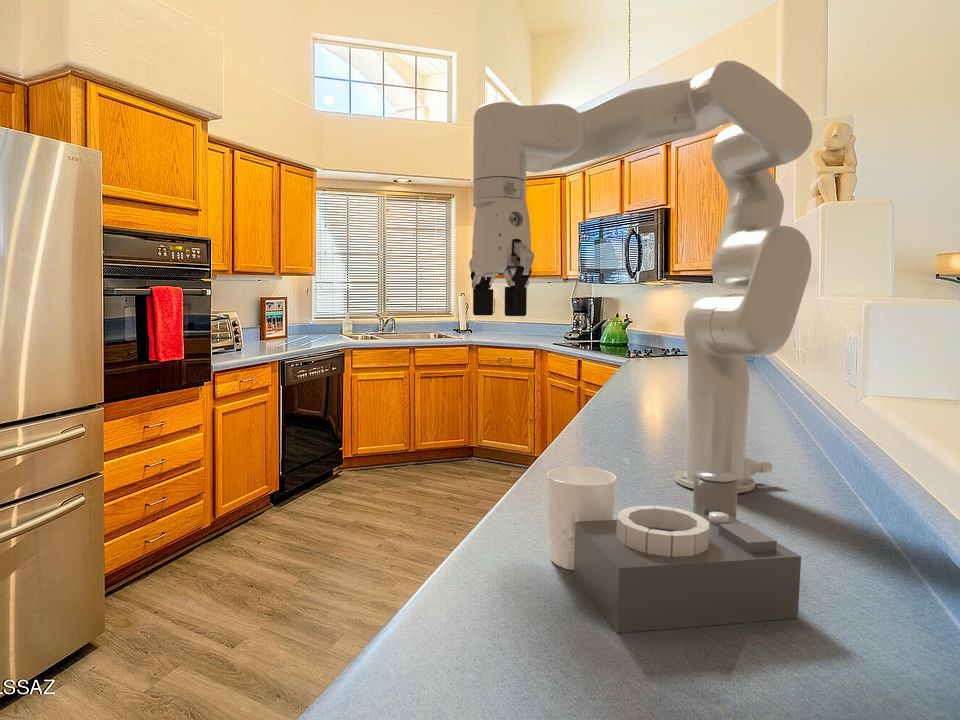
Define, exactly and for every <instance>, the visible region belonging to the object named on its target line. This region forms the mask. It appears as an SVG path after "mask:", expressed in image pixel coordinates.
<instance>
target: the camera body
mask: <svg viewBox="0 0 960 720" xmlns="http://www.w3.org/2000/svg"><path fill="white" fill-rule="evenodd" d="M801 565H802V556H801V555H800V554H798V553H796V552H794V551H793V550H791V549H789V548H787V547H786V546H784V545H782V544H780V543H779V542H778V540H776V539H774V538H773V537H770V536H769V535H768V534H766V533H764V532H762V531H760V530H759V529H757V528H755V527H753V526H751V525H750V524H749V523H747V522H742V521H741V520H738V519H737V518H736V519H735V518H734V517H732V516H730V515H728V514H725V513H722V512H710V513H709V515H702V516H699V515H698V514H696V513H693V511H688V510H685V509H683V508H678V507H677V508H676V507H672V506H663V505H653V504H651V505H635V506H633V505H632V506H629V507H627V508H623V509H621V510H619V511H618V513H617V516H616V519H614V520H602V521H581V522H575V554H574V571H573V576H574V578H575V579H576V580H577V582H578V583H579V584H580V585H581V587H582V588H583V590H584V591H585V592H586V594H587V596H588V597H590V599H591V601H592V602H593V603H594V604H595V605H596V608H598V609H599V611H600V612H601V614H602V615H603V616H604V617H605V619H606V620H607V622H608V623H609V624H610V626H611V627H612V628H613V630H614V631H615V633H616V634H624V633H635V632H636V633H638V632H649V631H658V630H659V631H660V630H661V631H662V630H672V629H685V628H686V629H687V628H694V627H696V628H697V627H707V626H709V627H710V626H720V625H721V626H723V625H732V624H743V623H745V624H746V623H758V622H765V621H766V622H767V621H769V622H770V621H780V620H781V621H782V620H792V619H794V620H795V619H798V618H799V605H800V604H799V601H800V585H801V583H800V582H801V568H802V567H801Z"/></svg>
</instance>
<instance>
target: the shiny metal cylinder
mask: <svg viewBox="0 0 960 720" xmlns="http://www.w3.org/2000/svg"><path fill="white" fill-rule="evenodd" d="M737 488H738V480H737V479H736V478H735V474H733V473H731V472H727V471H723V470H716V469H703V470H698V471H697V475H695V476H694V489H693V496H692V497H693V498H692V501H693V503H692V513H696V514H698V515H699V516H702V515H709V513H710V512H722V513H725V514H728V515H730V516H732V517H734V518H735V519H737V509H738V508H737V504H738V493H737Z"/></svg>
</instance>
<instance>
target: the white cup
mask: <svg viewBox="0 0 960 720" xmlns="http://www.w3.org/2000/svg"><path fill="white" fill-rule="evenodd" d="M617 481H618V480H617V476H616V474H615V473H612V472H610V471H608V470H604V469H602V468H601V469H600V468H595V467H587V466H563V467H557V468H554V469H551V470H548V471H547V473H546V483H547V484H546V488H547V489H546V491H547V496H546V497H547V516H548V517H547V518H548V519H547V520H548V521H547V524H548V525H547V526H548V536H549V543H550V560H551V562H553V564H555V565H556V566H558V567H560V568H563V569H564V570H565V569H566V570H569V571H573V572H574V554H575V522H581V521H602V520H615V507H616V491H617V483H618V482H617Z"/></svg>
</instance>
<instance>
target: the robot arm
mask: <svg viewBox="0 0 960 720" xmlns="http://www.w3.org/2000/svg"><path fill="white" fill-rule="evenodd" d="M473 116H474V117H473V165H472V166H473V172H472V173H473V178H472V179H473V187H472V188H473V189H472V192H473V194H472V195H473V197H472V199H473V201H472V202H473V203H472V204H473V207H474V208H475V211H474V219H473V232H472V234H473V235H472V246H471V247H472V252H471V253H472V254H471V256H472V257H471V258H470V260H469V262H468V266H469V270H470V275H469V276H470V279H471V289H472V314H473V316H493V315H494V289H493V288H492V285H493V283H494V280H495V278H496V275H497V276H499V277H504V279H505V282H506V284H507V286H504V315H505V317H525V316H527V309H528V308H527V300H528V298H527V297H528V296H527V295H528V291H527V290H528V287H529V284H530V277H531V275H532V266H533V263H534V259H535V252H534V251H532V235H531V222H530V214H529V207H528V204H527V202H526V201H527V172H529V173H533V174H535V173H537V174H538V173H543V172H549V171H553V170H556V169H562V168H567V167H571V166H574V165H579V164H582V163H586V162H590V161H594V160H597V159H598V160H599V159H601V158H602V159H603V158H606V157H612V156H617V155H620V154H621V155H622V154H624V153H627V152H630V151H634V150H639V149H643V148H647V147H651V146H657V145H660V144H664V143H669V142H674V141H680V140H683V139H689V138H692V137H696V136H700V135H703V134H706V133H708V132H710V131H713V130H715V129H718V128H720V127H723V126H725V125H727V124H730V123H733V124H732V125H730V126H728V127H726V128H724V129H723V130H722V131H720V133H719V134H718V135H716V137H715V139H714V141H713V143H712V145H711V159H712V160H711V161H712V163H713V166H714V168H715V170H716V171H717V173H718V175H719V176H720V178H721V180H722V181H723V184H724V186H725V188H726V190H727V195H728V196H727V197H728V204H727V210H726V215H725V217H724V221H723V224H722V228H721V231H720V234H719V237H718V240H717V244H716V247H715V251H714V253H713V257H712V261H711V267H710V271H711V276H712V278H713V281H714V282H715V283H716V284H717V285H718V286H720V287H722V288H724V289H729V290H736V291H737V290H744V291H745V290H746V291H745V294H744V293H742V294H741V293H740V294H737V293H734V294H732V293H730V294H727V293H726V294H714V295H709V296H705V297H701V298H700V299H699V300H697V301H695V302H694V303H693V304H692V305H691V306H690V307H689V309H688V310H687V312H686V315H685V318H684V322H683V323H684V325H683V332H684V333H683V334H684V341H685V346H686V347H685V348H686V353H687V354H686V355H687V368H688V371H687V391H686V392H687V396H686V418H685V421H686V422H685V442H684V443H685V448H684V468H681V469H678V470H676V471H675V473H674V481H675V482H676V483H677V484H679V485H680V486H683V487H686V488H689V489H691V490H694V476H695V475H697V471H698V470H703V469H716V470H723V471H727V472H731V473H733V474H735V478H736V479H737V480H738V488H737V494H744V493H748V492H751V491H753V490H754V489H755V487H756V486H755V485H756V483H755V482H756V481H755V479H754V478H753V477H752V476H754V475H756V473H759V474H767V473H768V474H770V473H772V471H773V464H772V463H771V461H769V460H765V461H757V462H756V461H755V459H751V458H748V457H747V439H748V438H747V437H748V420H749V419H748V416H749V414H748V413H749V395H750V376H749V370H748V367H747V363H746V361H745V358H744V356H747V357H748V356H749V357H767V356H771V355H773V354H775V353H778V351H779V350H781V349H782V348H783V347H784V345H785V344H786V343H787V341H788V339H789V338H790V336H791V333H792V331H793V327H794V324H795V323H796V319H797V317H798V316H797V315H798V312H799V309H800V306H801V302H802V301H803V297H804V293H805V290H806V288H807V283H808V282H809V280H808V279H809V278H810V274H811V270H812V269H811V268H812V252H811V247H810V243H809V240H808V239H807V238H806V236H805V235H804V234H803V233H802V232H801V230H798V229H797V228H794V227H792V226H789V225H788V226H787V225H781V221H782V217H783V215H784V210H785V209H784V207H785V203H784V202H785V201H784V196H783V193H782V191H781V189H780V186H779V185H778V183H777V182H776V179H775V178H774V176H773V174H772V172H771V171H770V170H769V169H772V168H775V167H779V166H782V165H786V164H789V163H790V162H793V161H795V160H797V159H799V158H800V157H802V156H803V155H804V154H805V153H806V152H807V150H808V149H809V147H810V145H811V142H812V141H813V140H812V139H813V125H812V122H811V120H810V117H809V116H808V114H807V112H806V110H805V109H804V108H803V107H802V106H801V105H799V103H797V102H796V101H795V100H793V99H792V98H791V97H790V96H789V95H787V93H785V92H784V91H783V90H781V88H779V87H777V86H776V84H774V83H773V82H771V81H770V80H769V79H768V78H766V77H765V75H762V74H761V73H759V72H758V71H756V70H755V69H753V68H752V67H750V66H748V65H746V64H744V63H742V62H739V61H735V60H725V61H721V62H718V63H716V64H714V65H713V66H711V67H710V68H708V69H706V70H703V72H701V73H699V74H697V75H695V76H692V77H691V78H686V79H682V80H678V81H672V82H668V83H662V84H656V85H652V86H647V87H646V86H645V87H641V88H635V89H631V90H627V91H625V92H622V93H619V94H616V95H614V96H613V97H610V98H608V99H606V100H604V101H602V102H601V103H598V104H597V105H595V106H592V107H591V108H588V109H585V110H583V111H581V112H579V111H578V110H576V108H573V107H572V106H569V105H566V104H563V103H562V104H561V103H545V104H544V103H543V104H531V105H527V104H526V105H519V104H518V103H514V102H510V101H491V102H487V103H484V104H482V105H480V106H479V107H477V109H476V110H475V113H474V115H473Z"/></svg>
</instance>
